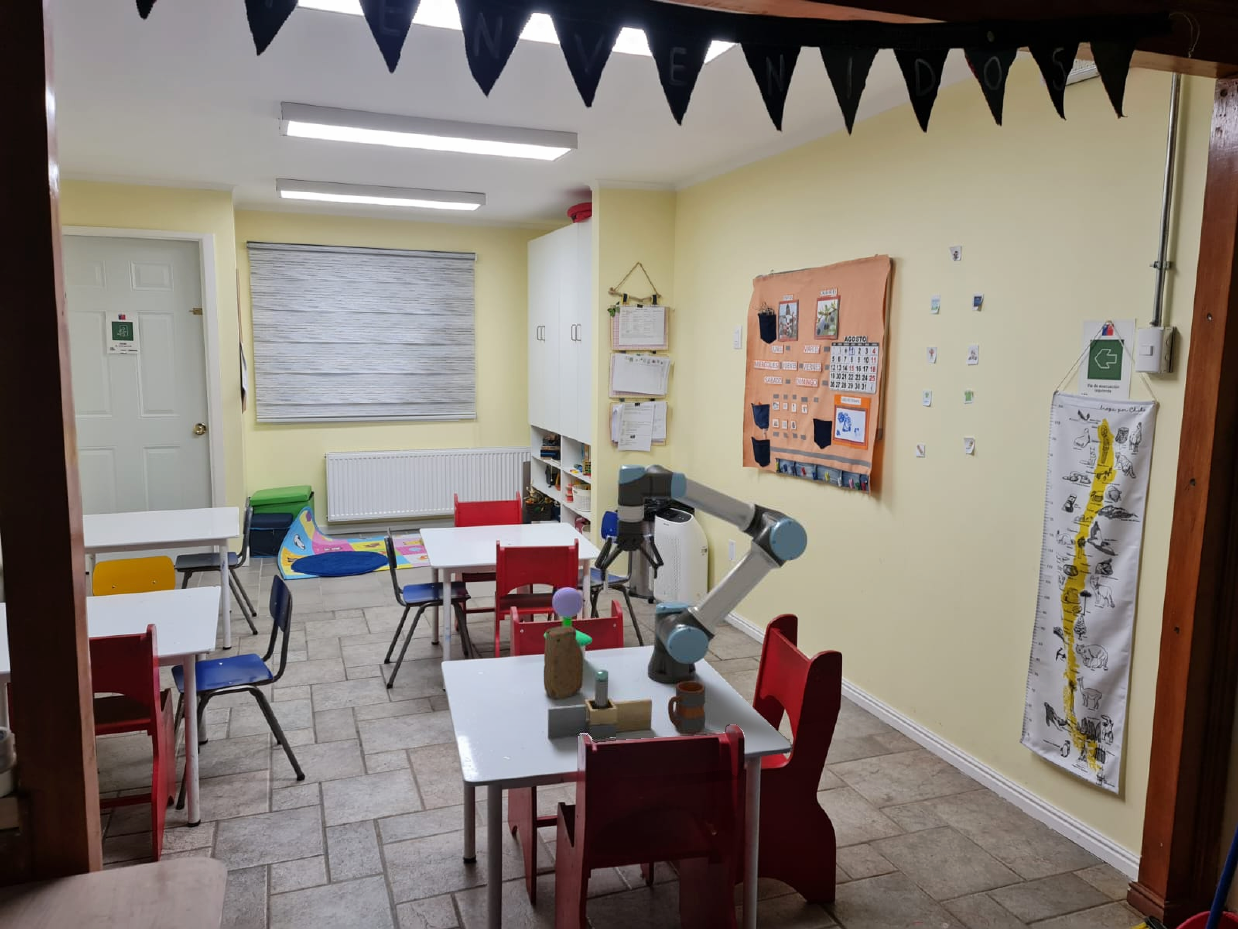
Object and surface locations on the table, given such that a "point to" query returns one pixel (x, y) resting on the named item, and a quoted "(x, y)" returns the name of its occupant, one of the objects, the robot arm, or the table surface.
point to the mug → (688, 707)
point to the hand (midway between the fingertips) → (628, 590)
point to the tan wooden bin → (621, 714)
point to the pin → (601, 689)
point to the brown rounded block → (562, 663)
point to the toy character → (570, 612)
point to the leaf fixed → (576, 723)
